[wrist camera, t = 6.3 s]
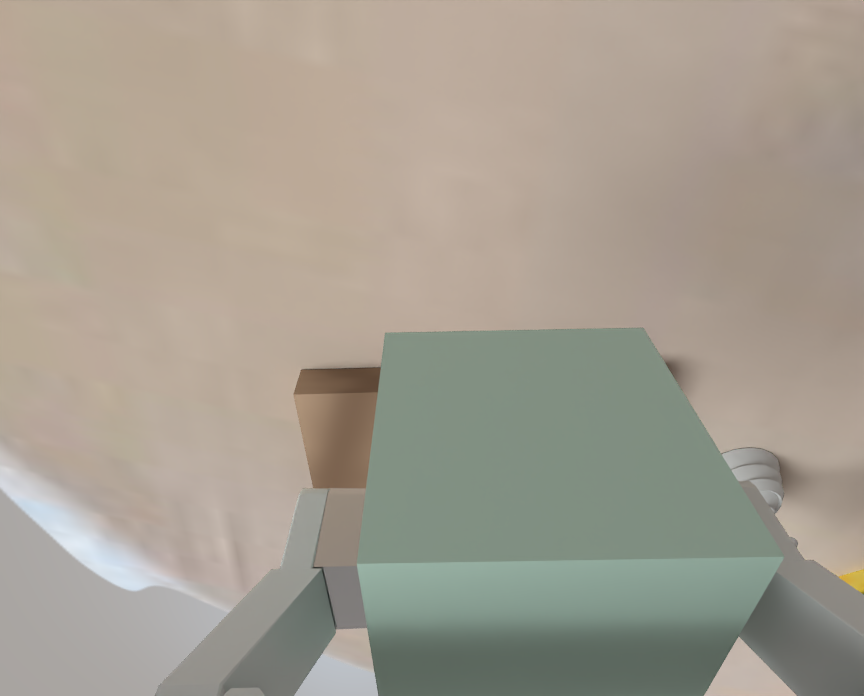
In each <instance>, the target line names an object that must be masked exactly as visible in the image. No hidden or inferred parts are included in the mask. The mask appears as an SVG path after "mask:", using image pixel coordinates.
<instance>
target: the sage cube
mask: <svg viewBox="0 0 864 696" xmlns="http://www.w3.org/2000/svg"><path fill="white" fill-rule="evenodd" d="M784 557H785V556H784V555H783V553H782V552H781V550H780V548H779V547H778V545H777V544H776V542H775V540H774V539H773V537H772V535H771V534H770V532H769V531H768V529H767V527H766V526H765V524H764V522H763V521H762V519H761V518H760V516H759V514H758V513H757V511H756V510H755V508H754V506H753V505H752V503H751V501H750V500H749V498H748V497H747V495H746V493H745V492H744V490H743V488H742V487H741V485H740V484H739V482H738V480H737V479H736V477H735V476H734V474H733V472H732V471H731V469H730V467H729V466H728V464H727V463H726V461H725V459H724V458H723V456H722V454H721V453H720V451H719V450H718V448H717V446H716V445H715V443H714V442H713V440H712V438H711V437H710V435H709V433H708V432H707V430H706V429H705V427H704V425H703V424H702V422H701V420H700V419H699V417H698V416H697V414H696V412H695V411H694V409H693V408H692V406H691V404H690V403H689V401H688V399H687V398H686V396H685V395H684V393H683V391H682V390H681V388H680V386H679V385H678V383H677V382H676V380H675V378H674V377H673V375H672V374H671V372H670V370H669V369H668V367H667V365H666V364H665V362H664V361H663V359H662V357H661V356H660V354H659V352H658V351H657V349H656V348H655V346H654V344H653V343H652V341H651V340H650V338H649V336H648V335H647V333H646V331H645V330H644V328H607V329H556V330H504V331H452V332H400V333H385V338H384V346H383V354H382V362H381V371H380V379H379V387H378V395H377V403H376V411H375V419H374V428H373V436H372V444H371V452H370V460H369V468H368V476H367V484H366V493H365V501H364V509H363V517H362V525H361V533H360V541H359V550H358V558H357V569H358V575H359V581H360V587H361V593H362V599H363V605H364V611H365V617H366V623H367V629H368V635H369V641H370V647H371V653H372V659H373V665H374V671H375V677H376V683H377V689H378V695H379V696H704V694H705V693H706V691H707V689H708V688H709V686H710V684H711V682H712V681H713V679H714V677H715V676H716V674H717V672H718V670H719V669H720V667H721V665H722V664H723V662H724V660H725V658H726V657H727V655H728V653H729V652H730V650H731V648H732V646H733V645H734V643H735V641H736V640H737V638H738V636H739V634H740V633H741V631H742V629H743V628H744V626H745V624H746V622H747V621H748V619H749V617H750V616H751V614H752V612H753V610H754V609H755V607H756V605H757V604H758V602H759V600H760V598H761V597H762V595H763V593H764V592H765V590H766V588H767V586H768V585H769V583H770V581H771V580H772V578H773V576H774V574H775V573H776V571H777V569H778V568H779V566H780V564H781V562H782V561H783V559H784Z"/></svg>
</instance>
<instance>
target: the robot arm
mask: <svg viewBox="0 0 864 696" xmlns="http://www.w3.org/2000/svg"><path fill="white" fill-rule="evenodd" d="M738 482H739V484H740V485H741V487H742V488H743V490H744V492H745V493H746V495H747V497H748V498H749V500H750V501H751V503H752V505H753V506H754V508H755V510H756V511H757V513H758V514H759V516H760V518H761V519H762V521H763V522H764V524H765V526H766V527H767V529H768V531H769V532H770V534H771V535H772V537H773V539H774V540H775V542H776V544H777V545H778V547H779V548H780V550H781V552H782V553H783V555H784V556H785V557H784V559H783V561H782V562H781V564H780V566H779V568H778V569H777V571H776V573H775V574H774V576H773V578H772V580H771V581H770V583H769V585H768V586H767V588H766V590H765V592H764V593H763V595H762V597H761V598H760V600H759V602H758V604H757V605H756V607H755V609H754V610H753V612H752V614H751V616H750V617H749V619H748V621H747V622H746V624H745V626H744V628H743V629H742V631H741V633H740V634H739V637H740V638H741V639H742V640H743V641H744V642H745V643H746V644H747V645H748V646H749V647H750V648H751V649H752V650H753V651H754V652H755V653H756V654H757V655H758V656H759V657H760V658H761V659H762V660H763V661H764V662H765V663H766V664H767V665H768V666H769V667H770V668H771V669H772V670H773V671H774V672H775V674H776V675H777V676H778V677H779V678H780V679H781V680H782V681H783V682H784V683H785V684H786V685H787V686H788V687H789V688H790V689H791V690H792V691H793V692H794V693H795V694H796V695H797V696H864V594H862V593H861V592H859V591H858V590H856V589H855V588H853V587H852V586H850V585H849V584H848V583H846V582H845V581H843V580H842V579H840V578H839V577H837V576H836V575H834V574H833V573H832V572H830V571H829V570H827V569H826V568H824V567H823V566H821V565H820V564H818V563H817V562H816V561H814V560H804V558H803V557H802V555H801V554H800V552H799V551H798V549H797V548H796V546H795V545H794V543H793V542H792V540H791V539H790V537H789V535H788V534H787V532H786V531H785V529H784V528H783V526H782V525H781V523H780V522H779V520H778V519H777V517H776V516H775V514H774V513H773V511H772V510H771V508H770V507H769V505H768V504H767V502H766V501H765V499H764V498H763V496H762V495H761V493H760V492H759V490H758V488H757V487H756V486H755V485H754V484H753V483H751V482H750V481H738ZM365 493H366V488H303V489H302V491H301V492H300V494H299V496H298V499H297V503H296V507H295V511H294V515H293V519H292V523H291V527H290V531H289V535H288V539H287V543H286V546H285V550H284V554H283V558H282V562H281V566H280V569H271V570H270V571H269V572H268V573H267V574H266V575H265V576H264V577H263V578H262V579H261V581H260V582H259V583H258V584H257V585H256V586H255V587H254V588H253V589H252V590H251V591H250V592H249V593H248V594H247V595H246V596H245V597H244V598H243V599H242V600H241V601H240V602H239V603H238V604H237V605H236V606H235V607H234V608H233V610H232V611H231V612H230V613H229V614H228V615H227V616H226V617H225V618H224V619H223V620H222V621H221V622H220V623H219V624H218V625H217V626H216V627H215V628H214V629H213V630H212V631H211V632H210V633H209V634H208V635H207V636H206V638H205V639H204V640H203V641H202V642H201V643H200V644H199V645H198V646H197V647H196V648H195V649H194V650H193V651H192V652H191V653H190V654H189V655H188V656H187V657H186V658H185V659H184V661H182V662H181V663H180V664H179V666H178V667H177V668H176V669H175V670H174V671H173V672H172V673H171V674H170V675H169V676H168V677H167V678H166V679H165V680H164V681H163V682H162V683H161V684H160V685H159V687H158V689H157V692H156V694H155V696H294V694H295V693H296V691H297V690H298V689H299V687H300V686H301V684H302V683H303V681H304V679H305V678H306V677H307V675H308V674H309V672H310V671H311V669H312V668H313V666H314V665H315V663H316V661H317V660H318V659H319V657H320V656H321V654H322V653H323V651H324V650H325V648H326V647H327V645H328V644H329V642H330V641H331V639H332V638H333V636H334V635H335V633H336V630H335V629H353V628H367V623H366V617H365V611H364V605H363V599H362V593H361V587H360V581H359V575H358V569H357V558H358V550H359V541H360V533H361V525H362V517H363V509H364V501H365Z"/></svg>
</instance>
